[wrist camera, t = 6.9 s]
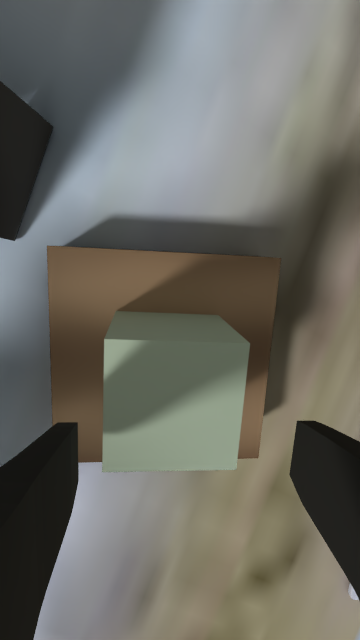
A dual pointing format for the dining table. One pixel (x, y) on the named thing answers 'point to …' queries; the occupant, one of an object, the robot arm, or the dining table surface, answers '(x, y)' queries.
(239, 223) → the dining table surface
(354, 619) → the dining table surface
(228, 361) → the cube
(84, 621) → the dining table surface
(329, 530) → the robot arm
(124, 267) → the base block
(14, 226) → the phone stand
